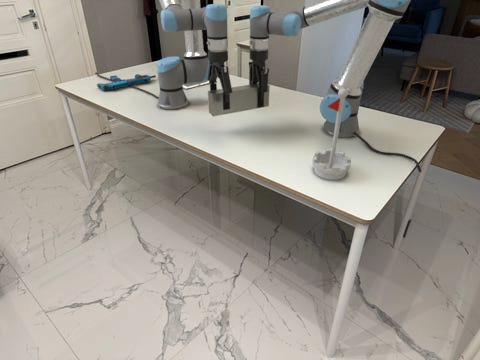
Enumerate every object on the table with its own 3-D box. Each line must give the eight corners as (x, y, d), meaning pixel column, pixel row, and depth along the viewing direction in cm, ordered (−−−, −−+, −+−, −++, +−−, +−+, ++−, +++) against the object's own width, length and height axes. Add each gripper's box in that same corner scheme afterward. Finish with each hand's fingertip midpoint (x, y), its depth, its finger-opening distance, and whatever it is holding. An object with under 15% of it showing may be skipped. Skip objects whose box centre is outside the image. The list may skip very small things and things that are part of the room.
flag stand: (334, 159, 128) (348, 80, 112) (356, 176, 118) (375, 92, 101) (304, 166, 124) (314, 84, 108) (324, 184, 114) (338, 97, 97)
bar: (263, 102, 152) (264, 82, 147) (268, 106, 148) (269, 85, 143) (209, 112, 143) (207, 91, 138) (213, 116, 139) (211, 94, 134)
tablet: (158, 77, 218) (158, 76, 218) (185, 71, 229) (185, 70, 229) (186, 89, 198) (186, 88, 197) (213, 82, 209) (213, 81, 208)
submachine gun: (141, 68, 224) (160, 74, 207) (142, 74, 226) (160, 81, 209) (89, 78, 206) (105, 86, 189) (91, 85, 207) (106, 93, 191)
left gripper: (197, 45, 137) (201, 96, 148) (221, 58, 118) (223, 115, 129) (214, 43, 139) (217, 93, 151) (240, 55, 120) (241, 112, 132)
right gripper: (241, 45, 141) (241, 99, 154) (261, 54, 128) (259, 113, 140) (257, 44, 144) (255, 97, 156) (278, 52, 130) (275, 110, 143)
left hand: (220, 104), depth 140 cm, fingers open, 13 cm apart
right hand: (257, 104), depth 148 cm, fingers closed on bar, 5 cm apart
